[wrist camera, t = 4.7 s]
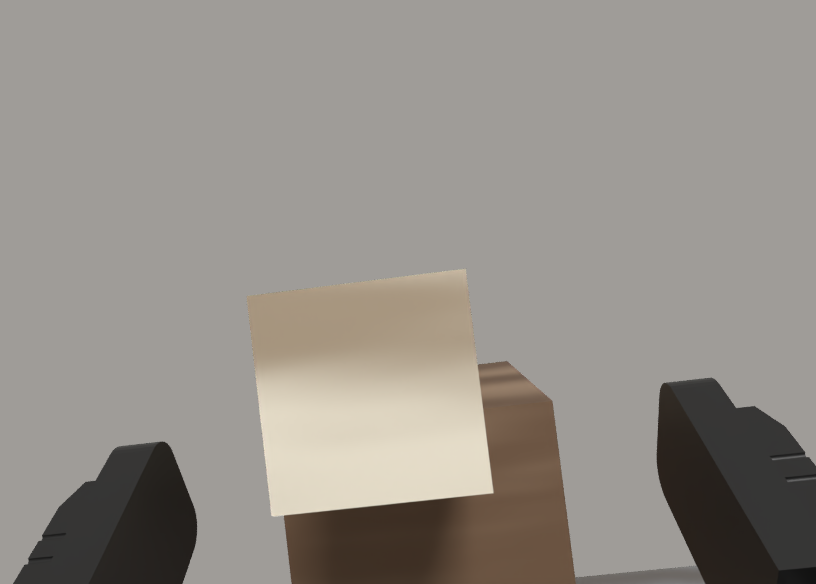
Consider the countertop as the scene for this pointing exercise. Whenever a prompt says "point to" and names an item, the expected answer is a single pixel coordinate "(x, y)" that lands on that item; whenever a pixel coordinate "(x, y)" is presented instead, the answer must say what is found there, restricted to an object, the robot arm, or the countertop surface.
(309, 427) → the ash bar
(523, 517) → the stepped pedestal
